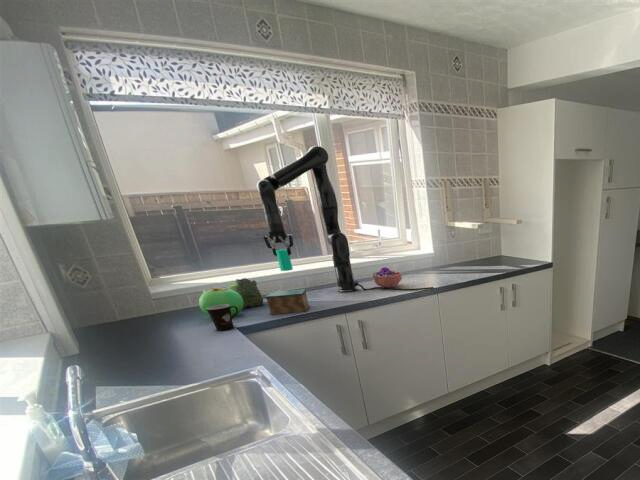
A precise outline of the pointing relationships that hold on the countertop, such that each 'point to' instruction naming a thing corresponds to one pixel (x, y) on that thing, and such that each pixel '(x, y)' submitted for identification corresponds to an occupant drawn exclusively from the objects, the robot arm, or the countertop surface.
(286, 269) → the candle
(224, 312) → the coffee mug
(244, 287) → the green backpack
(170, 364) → the countertop surface
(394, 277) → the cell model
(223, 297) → the green round pot
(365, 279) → the countertop surface
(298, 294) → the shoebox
